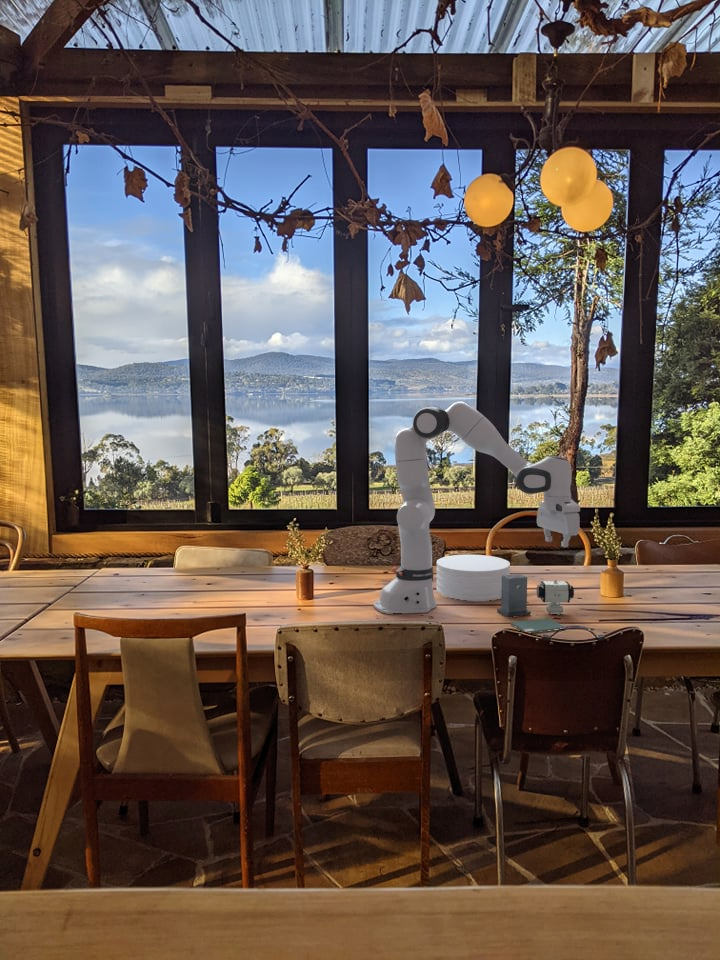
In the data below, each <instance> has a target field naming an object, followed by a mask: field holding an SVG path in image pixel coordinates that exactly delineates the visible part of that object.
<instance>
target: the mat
mask: <svg viewBox="0 0 720 960" xmlns="http://www.w3.org/2000/svg"><path fill="white" fill-rule="evenodd" d="M511 624H512V625H513V626H512V625H511ZM510 625H511V626H512V627H514V626H516V627H517V628H516V630H519V629H520V630H523V631H527V632H531V633H533V634H536V633H535V632H540V631H548V630H554V629H560V628H564V627H565V626H564V625H563V624H560V623H558V622H557V621H555V620H552V619H551V618H549V617H544V618H537V619H536V618H535V619H527V620H518V621H512V622H510ZM520 630H519V631H520Z"/></svg>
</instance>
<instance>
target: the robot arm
mask: <svg viewBox="0 0 720 960" xmlns="http://www.w3.org/2000/svg"><path fill="white" fill-rule="evenodd" d="M447 431H448V432H451V433H453V434H454V435H456V436H457V437H459V439H460V440H461V441H463V442H464V443H465V444H466V445H467V446H468V447H470V448H472V449H473V450H475V451H477V452H479V453H483V454H486V455H489V456H491V457H494V458H495V459H496V460H497V461H498V462H500V464H502V465H503V466H505V468H507V469H508V470H509V471H510V472H512V474H513V475H514V477H515V478H516V479H515V482H516V486H517V488H518V489H519V490H520V491H521V492H522V493H524V494H528V495H535V494H540V493H543V500H542V501H540V503H539V507H538V508H537V513H536V524H537V525H536V526H538V527H540V528H543V533H544V538H545V542H547V543H552V542H553V536H551V535H552V534H551V531H553V532H556V533H559V534H562V537H563V539H562V541H561V542H560V543H561V545H560V546H561V547H563V548H568V547H569V541H570V540H571V537H572V536H578V535H579V533H580V523H581V522H580V520H581V519H580V517H581V516H580V513H579V512H581V506H580V505H579V504H578V503H577V502H575V501H574V499H572V492H571V485H572V465H571V462H570V460H568V459H567V458H565V457H564V456H563V457H562V456H558V455H547V456H546V457H545V458H543V459H541V460H540V461H537V462H533V461H530V460H528V459H526V458H524V457H523V456H522V455H520V454H519V453H518V452H517V451H516V450H515V449H514V448H513V447H512V446H510V445H509V444H508V443H507V442H506V440H505V439H504V438H503V437H502V435H501V434H500V433H499V431H498V430H497V427H496V426H494V424H493V423H492V422H491V421H490V419H488V418H487V417H485V415H483V413H481V412H480V411H478V410H477V409H476V408H474V407H473V406H472V405H469V404H468V403H466V402H465V401H463V400H462V401H460V400H459V401H455V402H454V403H452V404H451V405H450V406H449V407H448V408H446V409H442V408H440V407H438V406H433V405H428V406H424V407H422V408H421V409H419V410H418V411H416V413H415V414H414V415H413V419H412V426H410V427H407V428H403V429H401V430H398V432H397V433H396V436H395V442H394V443H395V444H394V457H395V460H394V461H395V468H396V478H397V485H398V487H399V489H400V493H401V497H402V502H403V503H402V504H401V505H400V506H399V508H398V510H397V513H396V521H397V525H398V526H397V527H398V528H397V529H398V534H399V539H400V567H399V568H397V567H396V566H393V567H392V568H391V572H392V573H394V574H395V576H396V577H394V578H393V579H392V580H391V581H389V582H388V583H387V584H385V585H384V586H383V587H382V588H381V591H380V596H379V600H375V601H374V602H373V607H374V610H376V611H378V612H380V613H382V614H385V613H386V615H394V614H393V613H402V614H421V613H424V614H425V613H429V612H430V611H431V610H433V609H435V608H436V607H437V602H436V599H435V592H434V586H433V583H434V567H433V544H432V540H431V533H430V532H431V531H430V523H431V521H433V519H434V517H435V514H436V507H435V501H434V498H433V497H434V496H433V491H432V488H431V484H430V477H429V469H428V457H427V448H426V447H427V442H428V441H429V440H431V439H435V438H438V437H439V436H441V435H442V434H444V433H445V432H447Z"/></svg>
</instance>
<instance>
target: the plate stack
mask: <svg viewBox="0 0 720 960" xmlns="http://www.w3.org/2000/svg"><path fill="white" fill-rule="evenodd" d="M510 568H511V563H510V561H509V560H507V559H504V558H502V557H497V556H492V555H483V554H455V555H447V556H443V557H441V558H439V559H437V560H436V581H435V582H436V590H437V591H436V593H437V592H438V593H437V594H438V595H440V594H441V595H440V596H442V595H443V596H442V597H444V596H446V597H445V598H447V597H450V598H449V599H451V598H455V599H454V600H456V599H460V600H459V601H463V600H467V601H466V602H489V600H492V601H497V599H498V600H501V589H502V575H511V570H510Z"/></svg>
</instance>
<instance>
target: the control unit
mask: <svg viewBox="0 0 720 960" xmlns="http://www.w3.org/2000/svg"><path fill="white" fill-rule="evenodd" d="M527 598H528V577H527V576H526V575H523V574H521V573H513V574H510V575H502V589H501V599H500V601H501V604H500V605H501V606H500V608H497V609H496V613H498V614H500V615H501V614H502V615H501V616H503V615H504V616H503V617H505V616H506V617H512V618H515V617H514V616H521V617H523V616H522V615H530V614H531V611H530V610H528V599H527ZM531 615H532V614H531ZM531 615H530V616H531ZM506 617H505V618H506Z"/></svg>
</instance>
